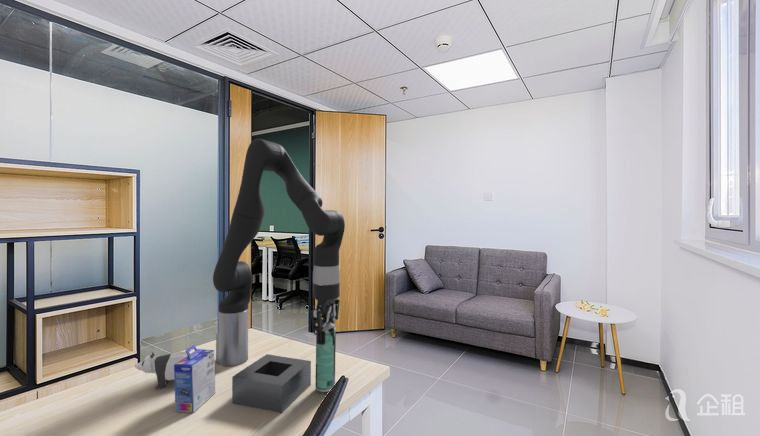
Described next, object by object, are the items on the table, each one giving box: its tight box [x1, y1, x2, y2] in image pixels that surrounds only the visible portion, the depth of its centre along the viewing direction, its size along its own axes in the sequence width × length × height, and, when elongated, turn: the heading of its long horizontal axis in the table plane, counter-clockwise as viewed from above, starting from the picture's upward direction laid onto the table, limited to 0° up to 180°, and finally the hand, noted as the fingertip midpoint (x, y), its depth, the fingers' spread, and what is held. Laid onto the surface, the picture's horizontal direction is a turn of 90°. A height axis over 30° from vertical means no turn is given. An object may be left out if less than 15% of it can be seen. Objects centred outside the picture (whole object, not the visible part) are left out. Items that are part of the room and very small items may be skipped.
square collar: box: [231, 354, 312, 414], centre depth 96 cm, size 15×15×7 cm
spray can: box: [315, 318, 337, 393], centre depth 98 cm, size 6×6×20 cm
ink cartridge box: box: [173, 344, 216, 414], centre depth 91 cm, size 10×6×14 cm, turn 174°
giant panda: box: [134, 351, 191, 390], centre depth 100 cm, size 15×6×10 cm, turn 111°
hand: (325, 340), depth 98 cm, fingers closed on spray can, 5 cm apart
